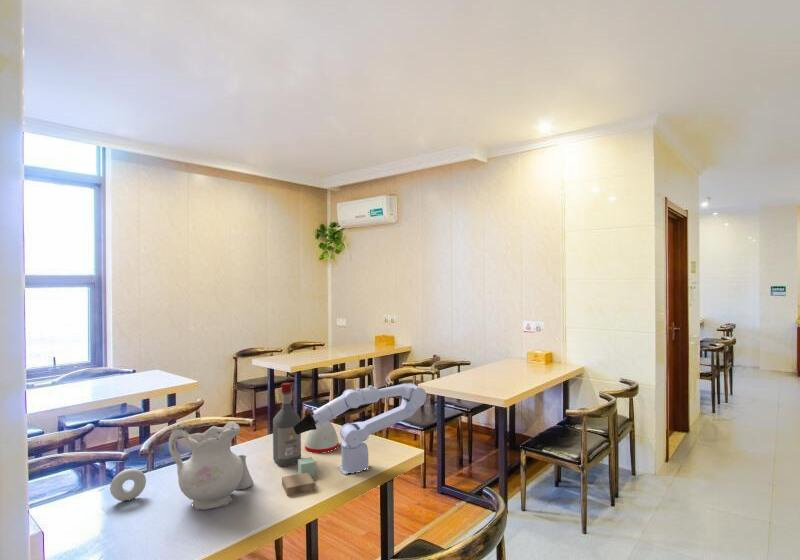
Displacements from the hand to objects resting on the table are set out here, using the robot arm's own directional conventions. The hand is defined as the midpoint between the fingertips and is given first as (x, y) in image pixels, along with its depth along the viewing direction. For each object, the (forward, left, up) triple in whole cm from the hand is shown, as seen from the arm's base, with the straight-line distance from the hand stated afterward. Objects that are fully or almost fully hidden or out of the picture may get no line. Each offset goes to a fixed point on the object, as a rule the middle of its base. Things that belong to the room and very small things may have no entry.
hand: (294, 431), depth 161 cm
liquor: (0, -17, -17) cm, 24 cm away
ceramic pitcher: (+29, +4, -17) cm, 34 cm away
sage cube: (-4, -2, -17) cm, 17 cm away
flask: (+18, -3, -17) cm, 25 cm away
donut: (+52, -8, -17) cm, 55 cm away
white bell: (-16, -26, -17) cm, 35 cm away
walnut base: (+1, +7, -17) cm, 19 cm away
